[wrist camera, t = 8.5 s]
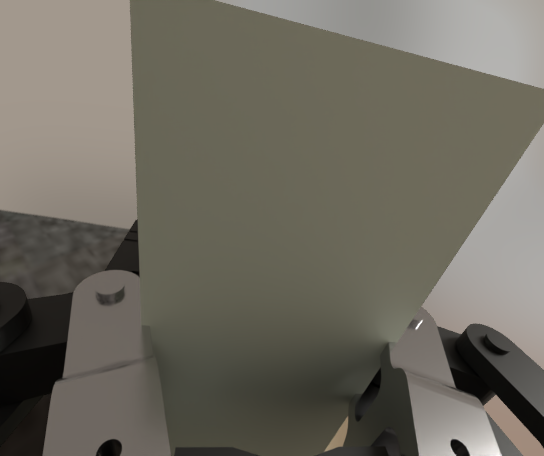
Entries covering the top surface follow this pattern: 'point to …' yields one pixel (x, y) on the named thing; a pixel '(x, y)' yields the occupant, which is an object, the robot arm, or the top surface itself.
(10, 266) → the top surface
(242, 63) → the sage block
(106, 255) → the top surface
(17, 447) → the top surface
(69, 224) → the top surface
